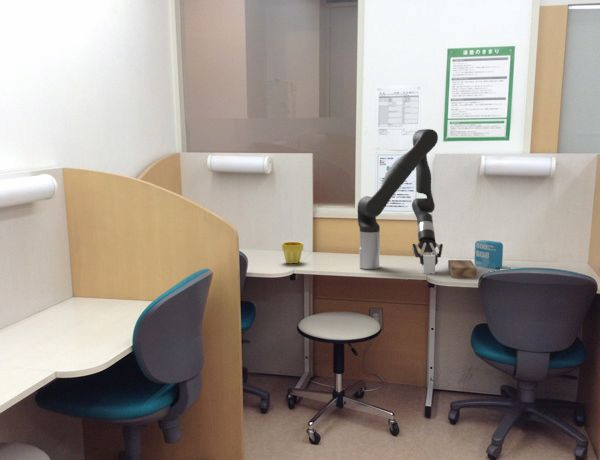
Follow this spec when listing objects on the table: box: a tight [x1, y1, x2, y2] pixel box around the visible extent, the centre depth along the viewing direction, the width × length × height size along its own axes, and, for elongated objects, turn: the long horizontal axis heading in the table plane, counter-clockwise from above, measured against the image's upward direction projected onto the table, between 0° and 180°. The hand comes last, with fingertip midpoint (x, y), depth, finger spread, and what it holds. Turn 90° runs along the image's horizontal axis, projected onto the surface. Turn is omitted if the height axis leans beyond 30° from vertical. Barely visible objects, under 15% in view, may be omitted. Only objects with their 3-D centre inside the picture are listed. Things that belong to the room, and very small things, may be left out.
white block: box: [421, 253, 436, 275], centre depth 263 cm, size 5×6×8 cm
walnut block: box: [447, 259, 477, 279], centre depth 260 cm, size 10×16×5 cm, turn 172°
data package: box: [473, 239, 504, 270], centre depth 273 cm, size 12×4×12 cm, turn 40°
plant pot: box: [281, 241, 304, 264], centre depth 288 cm, size 10×10×10 cm
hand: (429, 264), depth 261 cm, fingers closed on white block, 5 cm apart
